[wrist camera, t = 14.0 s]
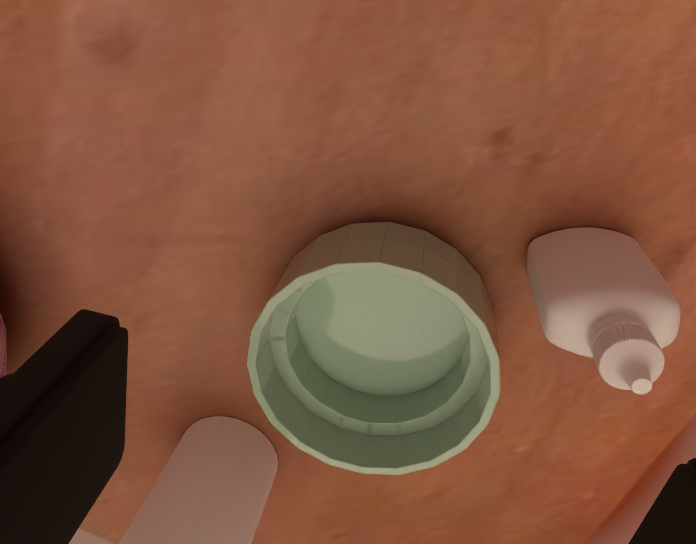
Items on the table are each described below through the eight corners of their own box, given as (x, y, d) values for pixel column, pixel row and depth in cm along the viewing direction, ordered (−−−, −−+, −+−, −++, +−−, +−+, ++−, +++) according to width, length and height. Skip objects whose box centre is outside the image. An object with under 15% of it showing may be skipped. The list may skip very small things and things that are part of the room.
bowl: (294, 194, 34) (265, 233, 28) (523, 250, 33) (537, 301, 28) (263, 378, 40) (234, 439, 34) (457, 429, 39) (458, 500, 34)
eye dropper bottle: (601, 308, 34) (671, 457, 23) (512, 265, 34) (540, 397, 23) (649, 244, 32) (750, 375, 21) (555, 198, 32) (609, 308, 21)
